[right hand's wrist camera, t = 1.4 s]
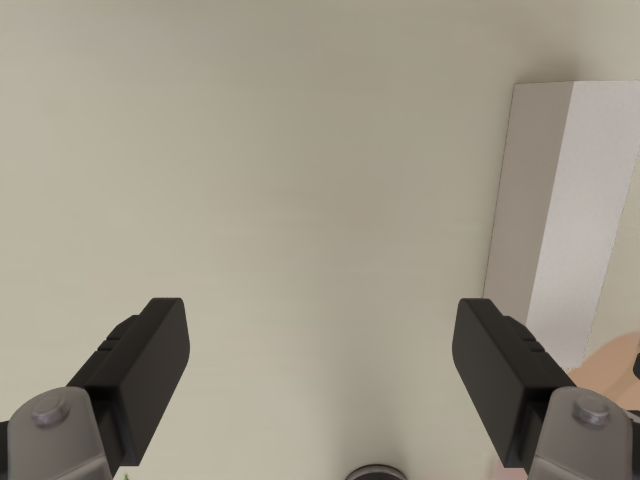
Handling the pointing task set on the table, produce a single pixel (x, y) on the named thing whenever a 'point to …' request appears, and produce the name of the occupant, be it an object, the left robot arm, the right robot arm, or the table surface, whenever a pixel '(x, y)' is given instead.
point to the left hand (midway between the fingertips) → (586, 361)
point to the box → (561, 206)
